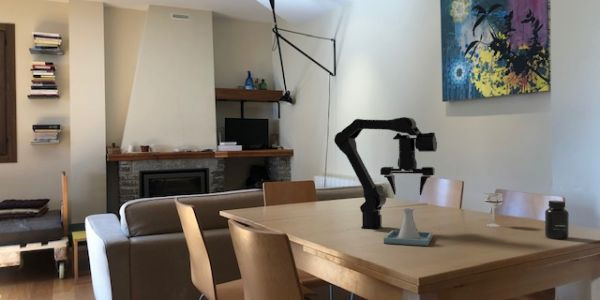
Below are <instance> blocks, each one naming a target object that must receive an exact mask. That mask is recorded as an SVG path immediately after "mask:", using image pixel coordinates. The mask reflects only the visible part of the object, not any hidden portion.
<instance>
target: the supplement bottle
mask: <svg viewBox="0 0 600 300" xmlns="http://www.w3.org/2000/svg"><path fill="white" fill-rule="evenodd" d="M547 206H548V208H547V209H545V213H544V236H545V237H546V238H547V239H553V240H568V238H569V233H570V232H569V227H570V222H569V221H570V220H569V219H570V217H569V216H570V214H569V211H568V210H567V209H566V201H565V200H564V201H563V200H548V205H547Z"/></svg>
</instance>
